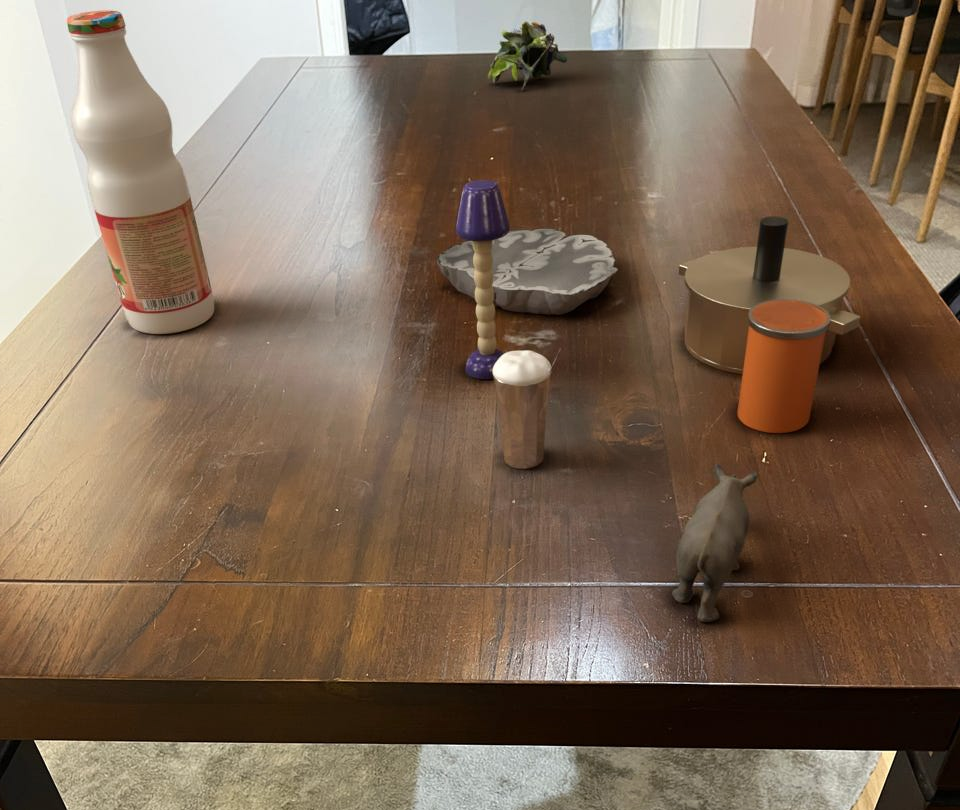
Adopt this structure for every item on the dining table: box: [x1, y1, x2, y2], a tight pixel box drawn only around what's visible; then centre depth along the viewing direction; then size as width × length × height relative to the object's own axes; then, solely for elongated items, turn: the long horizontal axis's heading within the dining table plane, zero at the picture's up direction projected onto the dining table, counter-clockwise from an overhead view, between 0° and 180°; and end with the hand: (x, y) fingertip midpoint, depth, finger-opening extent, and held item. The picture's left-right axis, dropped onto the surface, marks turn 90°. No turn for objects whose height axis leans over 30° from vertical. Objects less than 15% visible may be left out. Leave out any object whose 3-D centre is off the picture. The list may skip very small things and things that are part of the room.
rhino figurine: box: [672, 463, 758, 623], centre depth 70 cm, size 4×14×6 cm, turn 158°
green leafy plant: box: [487, 21, 568, 92], centre depth 172 cm, size 11×11×12 cm
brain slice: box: [436, 227, 618, 316], centre depth 109 cm, size 20×17×3 cm
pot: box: [678, 258, 861, 375], centre depth 95 cm, size 14×19×6 cm
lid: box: [684, 215, 851, 314], centre depth 91 cm, size 15×15×6 cm
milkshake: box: [493, 348, 562, 470], centre depth 80 cm, size 4×5×10 cm
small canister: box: [736, 299, 831, 434], centre depth 84 cm, size 6×6×9 cm
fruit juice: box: [66, 9, 215, 335], centre depth 99 cm, size 9×9×28 cm
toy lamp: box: [455, 179, 510, 380], centre depth 90 cm, size 5×5×17 cm
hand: (933, 5), depth 79 cm, fingers open, 8 cm apart
